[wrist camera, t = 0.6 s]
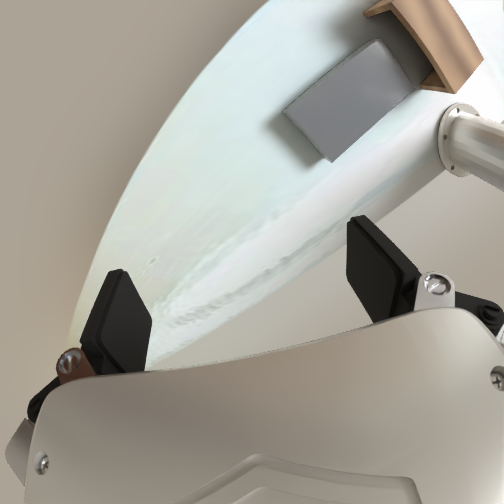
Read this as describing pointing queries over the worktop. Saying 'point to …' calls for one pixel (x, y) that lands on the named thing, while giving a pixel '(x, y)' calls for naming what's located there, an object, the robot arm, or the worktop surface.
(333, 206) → the worktop surface
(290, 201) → the worktop surface
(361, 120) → the board
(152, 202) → the worktop surface
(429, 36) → the open wooden box
